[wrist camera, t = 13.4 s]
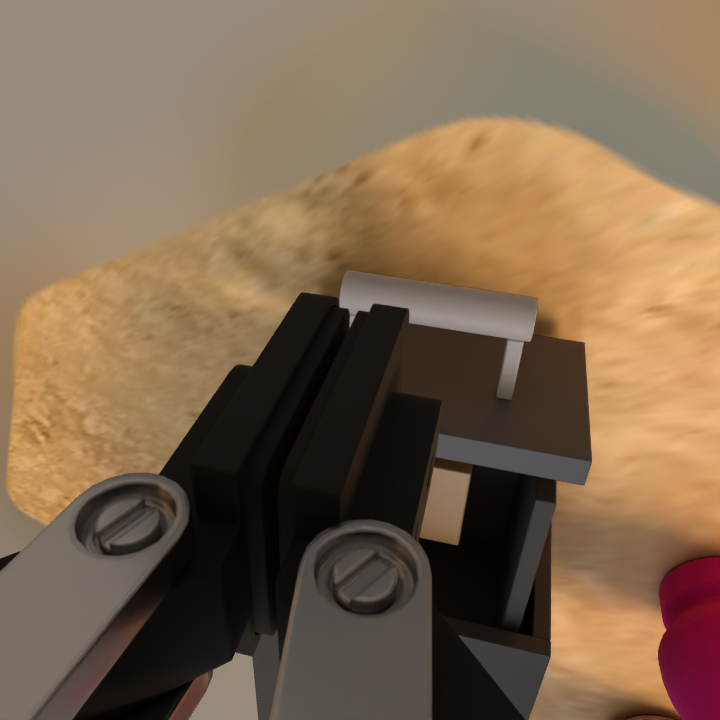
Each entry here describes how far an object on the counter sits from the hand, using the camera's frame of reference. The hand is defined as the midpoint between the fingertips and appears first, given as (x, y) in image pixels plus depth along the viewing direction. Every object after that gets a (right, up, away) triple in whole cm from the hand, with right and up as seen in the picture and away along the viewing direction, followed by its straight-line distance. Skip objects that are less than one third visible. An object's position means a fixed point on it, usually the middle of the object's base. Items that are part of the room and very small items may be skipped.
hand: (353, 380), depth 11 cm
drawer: (+4, -2, +22) cm, 23 cm away
